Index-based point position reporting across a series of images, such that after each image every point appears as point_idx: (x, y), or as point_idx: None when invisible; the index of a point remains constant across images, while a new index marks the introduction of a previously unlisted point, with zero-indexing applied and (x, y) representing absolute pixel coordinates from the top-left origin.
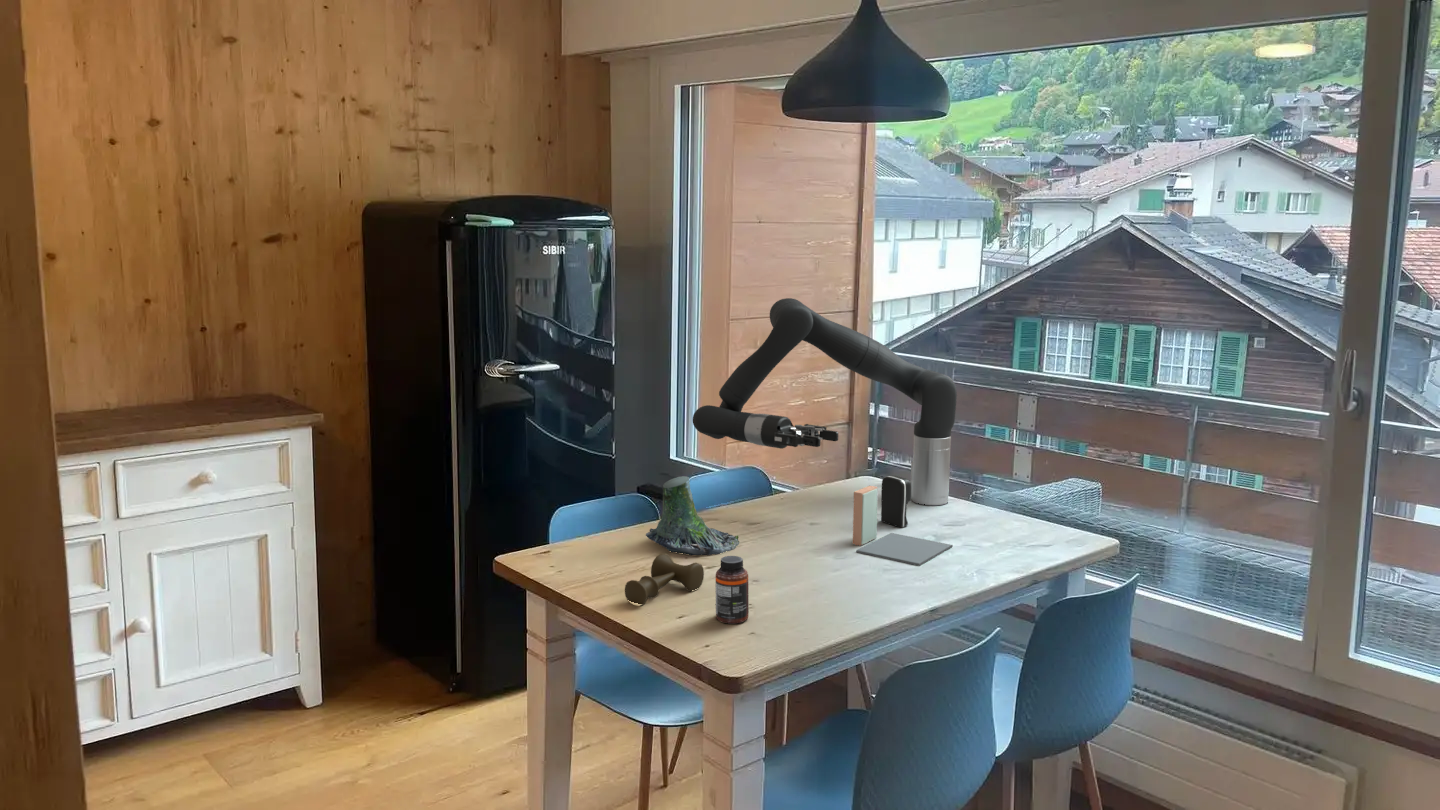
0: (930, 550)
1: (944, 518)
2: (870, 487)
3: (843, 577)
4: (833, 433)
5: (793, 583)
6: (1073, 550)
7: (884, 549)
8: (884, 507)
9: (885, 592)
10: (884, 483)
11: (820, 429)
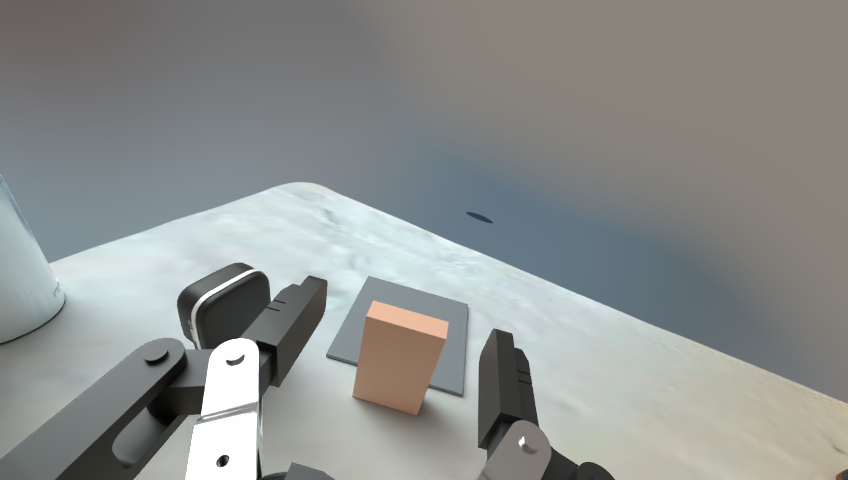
0: (406, 296)
1: None
2: (385, 312)
3: (582, 388)
4: (317, 297)
5: (678, 461)
6: (339, 200)
7: None
8: None
9: (579, 331)
10: (214, 317)
11: (258, 364)
